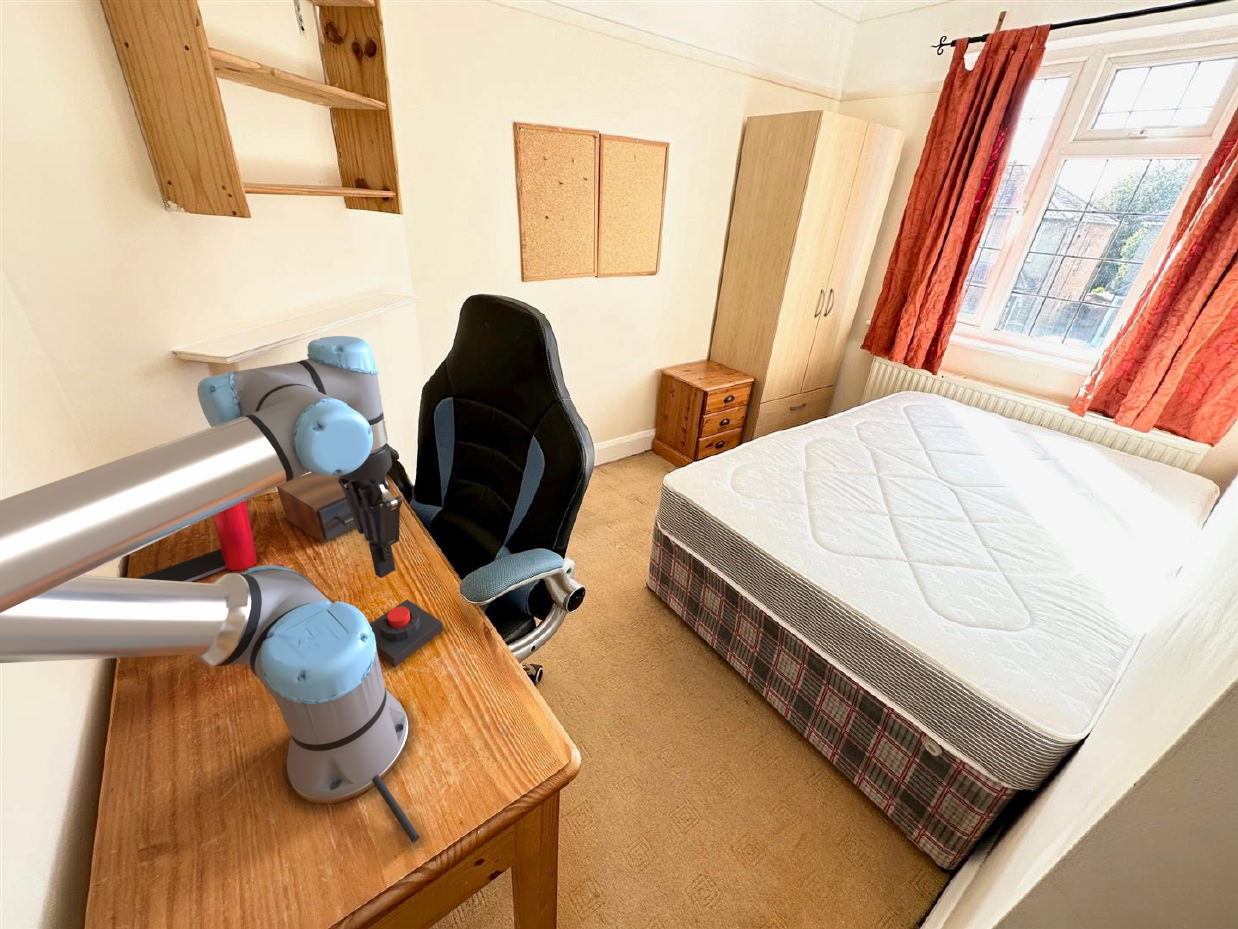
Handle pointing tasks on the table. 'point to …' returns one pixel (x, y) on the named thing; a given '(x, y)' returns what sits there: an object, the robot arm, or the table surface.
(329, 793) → the robot arm
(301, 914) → the table surface
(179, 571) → the smartphone
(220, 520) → the bottle
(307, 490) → the cabinet
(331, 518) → the drawer
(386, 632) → the panel
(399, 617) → the button
